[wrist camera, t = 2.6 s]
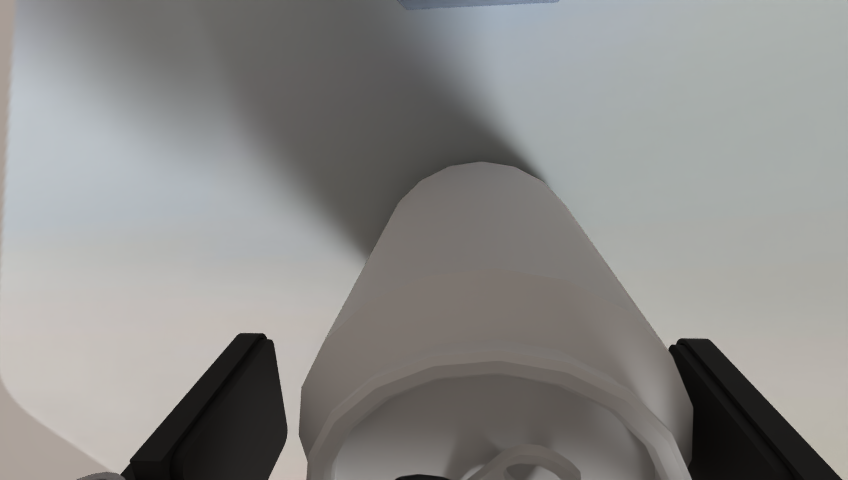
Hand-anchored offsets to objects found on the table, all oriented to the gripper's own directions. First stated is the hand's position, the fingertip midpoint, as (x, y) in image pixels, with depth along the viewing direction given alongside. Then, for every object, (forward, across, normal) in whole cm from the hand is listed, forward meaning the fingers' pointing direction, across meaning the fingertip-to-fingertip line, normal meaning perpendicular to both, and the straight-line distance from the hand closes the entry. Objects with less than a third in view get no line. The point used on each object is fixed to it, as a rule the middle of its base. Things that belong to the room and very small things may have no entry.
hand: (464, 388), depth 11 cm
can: (+8, -1, 0) cm, 8 cm away
